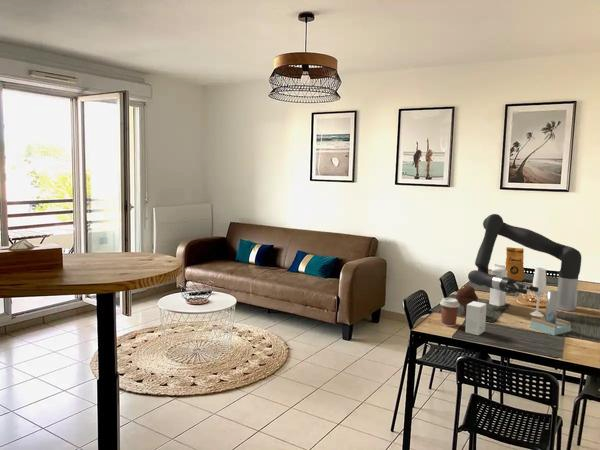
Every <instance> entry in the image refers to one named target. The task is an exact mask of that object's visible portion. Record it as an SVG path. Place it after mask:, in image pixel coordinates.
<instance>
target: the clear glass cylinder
mask: <svg viewBox="0 0 600 450" xmlns="http://www.w3.org/2000/svg"><path fill="white" fill-rule="evenodd" d="M546 292H547V293H546V303H545V305H546V306H545V314H544V318H545V322H548V323H552V324H556V318H557V313H558V312H557V311H558V309H557V303H558V292H557V290H552V289H550V290H546Z"/></svg>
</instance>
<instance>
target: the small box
mask: <svg viewBox="0 0 600 450" xmlns="http://www.w3.org/2000/svg"><path fill="white" fill-rule="evenodd" d="M486 316H487V303H484V302H479V301H477V302H475V301H473V302H471V303H469V304H467V310H466V316H465V330H464V332H465V333H467V334H470V335H474V336H479V335H481V334H483V333H484V332H486V319H487V317H486Z"/></svg>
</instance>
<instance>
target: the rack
mask: <svg viewBox="0 0 600 450" xmlns="http://www.w3.org/2000/svg"><path fill="white" fill-rule="evenodd" d="M529 328H531V329H533V330H537V331H540V332H543V333H546V334H549V335H551V336H558V335H562V334H565V333H569V332H571V329H572V325H571V321H567V320H564V319H561V318H557V317H556V324H552V323H548V322H545V317H544V318H541V319H540V318H539V319H538V318H535V317H531V321H530V326H529Z"/></svg>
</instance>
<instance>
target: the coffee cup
mask: <svg viewBox="0 0 600 450" xmlns="http://www.w3.org/2000/svg"><path fill="white" fill-rule="evenodd" d="M439 305H440V306H441V311H440V312H441V325H442V326H444V327H456V325H457V317H458V312H459V311H458V310H459V308H460V307H461V305H460V304H459V303H458V300H457V299H456V298H453V297H443V298H442V299H441V301H440V302H439Z"/></svg>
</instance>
